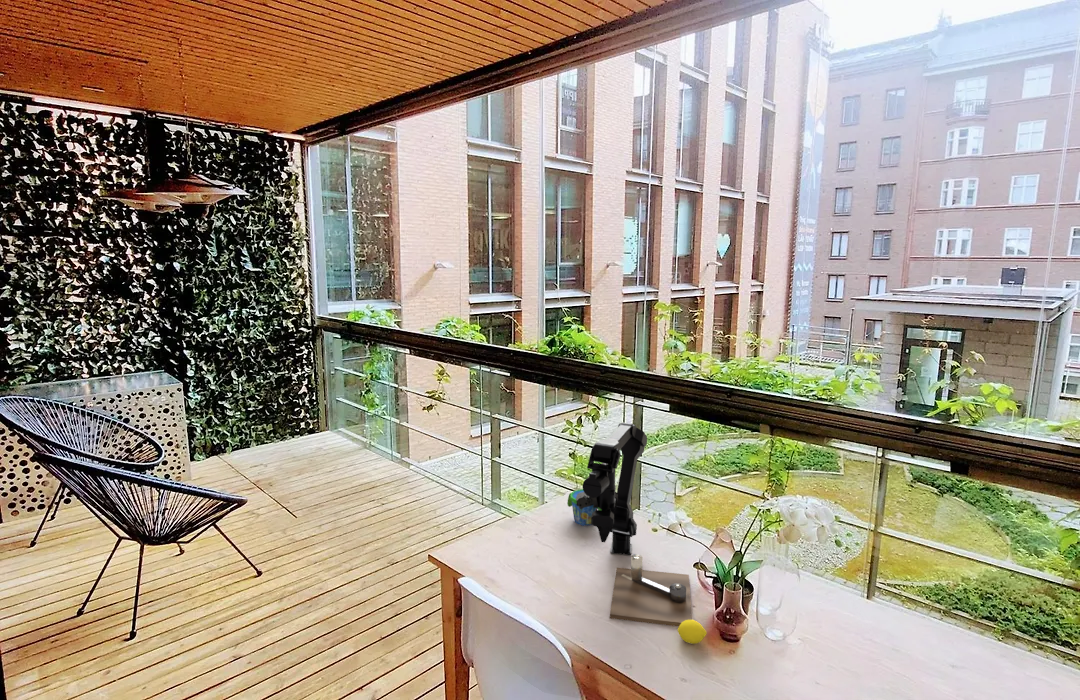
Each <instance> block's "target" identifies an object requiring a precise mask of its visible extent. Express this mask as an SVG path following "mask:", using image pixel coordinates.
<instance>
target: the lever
mask: <svg viewBox="0 0 1080 700" xmlns="http://www.w3.org/2000/svg"><path fill="white" fill-rule="evenodd" d="M630 569H631V578H632V581H634V582H636V583H639V584H641V585H643V586H646V587H648V588H651V589H653V590H655V591H658V592H660V593H662V594H665V595H667V596H669V598H670V600H671V601H673V602H676V603H683V602H685V601H686V587H685V586H684V585H682V584H678V583H674V584H671V585H670V589H669V588H667V587H664V586H662V585H659V584H657V583H655V582H652V581H650V580H647V579H645V578H643V577H642V570H643V556H642V555H641V554H631V555H630Z"/></svg>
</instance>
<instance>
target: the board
mask: <svg viewBox="0 0 1080 700" xmlns="http://www.w3.org/2000/svg"><path fill="white" fill-rule="evenodd" d="M642 577H643V578H645V579H647V580H650V581H652V582H655V583H657V584H659V585H662V586H664V587H667V588H669V589H670V585H671V584H674V583H678V584H682V585H684V586H685V587H686V601H685V602H683V603H676V602H673V601H671V600H670V598H669V596H667V595H665V594H662V593H660V592H658V591H655V590H653V589H651V588H648V587H646V586H643V585H641V584H639V583H636V582H634V581H632V578H631V568H626V567H616V570H615V575H614V583H613V591H612V597H611V604H610V609H609V619H611V620H619V621H621V620H622V621H628V622H637V623H645V624H652V625H653V624H654V625H660V626H661V625H662V626H663V625H664V626H670V627H677V628H678V627H679V626H680V624H681V623H682V622H683V621H685V620H693V612H692V611H693V609H692V600H691V599H692V598H691V597H692V596H691V587H690V586H691V585H690V575H689V574H685V573H675V572H668V571H667V572H665V571H658V570H657V571H656V570H646V569H645V570H644V569H642Z"/></svg>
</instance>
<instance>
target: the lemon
mask: <svg viewBox="0 0 1080 700" xmlns="http://www.w3.org/2000/svg"><path fill="white" fill-rule="evenodd" d="M677 633H678V634H679V637H680V639H681V640H683V641H684V642H685V643H687V644H688V643H689V644H692V645H696V644H699V643H701V642H702V641H703V640H704V638H705V637H706V635H707V634H708V632H707V630H706V629H705V628H704V627H703V625H702V624H701V623H700V622H698V621H697V620H695V619H692V620H685V621H683V622H682V623H681V624H680V626H679V627H677Z"/></svg>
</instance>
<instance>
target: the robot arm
mask: <svg viewBox="0 0 1080 700" xmlns="http://www.w3.org/2000/svg"><path fill="white" fill-rule="evenodd" d="M647 444H648V437H647V435H646V433H645V431H644V430H641V429H640V428H639V427H637V425H636V424H634V423H630V422H619V424H618V426H617V428H616V429H615V430H614V431H612V433H611V434H610V435H609V436H608V437H607V438H605V439H600V440H598V441H596V442H595V443H594V444H593V445H592V448H591V451H590V455H589V459H588V463H587V469H589V470H591V472H589V474H588V477H587V478H586V479H584V481H583V482H582V489H583V491H584V492H581V493H579V494H577V497H576V501H577V504H576V505H577V506H578V507H579V509H583V508H585V507H588V506H592V505H593V508H598V507H599V509H601V510H598V509H597V510H595V511H594V512H593V513H592V517H591V524H592V525H591V526H594V527H596V528H597V531H598V535H599V537H600V541H601V543H606V542H607V540H608V537H609V534H610V533H612V542H611V546H610V554H617V555H626V556H632V550H633V549H632V547H633V544H632V543H631V538H633V537H634V536H637V528H638V527H637V526H638V524H637V523H636V521H635V519H634V512H633V508H632V507H631V499H632V494H633V493H632V492H633V488H634V482H635V476H636V468H637V465H638V464H637V463H638V459H639V458H640V457H641V456H642V454H644V451H645V447H646V446H647ZM620 450H621V451H620ZM621 454H622V462H621V466H620V467H621V468H620V473H619V478H618V483H617V486H616V470H617V469H618V466H619V462H620V459H621ZM616 488H617V490H616Z"/></svg>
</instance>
